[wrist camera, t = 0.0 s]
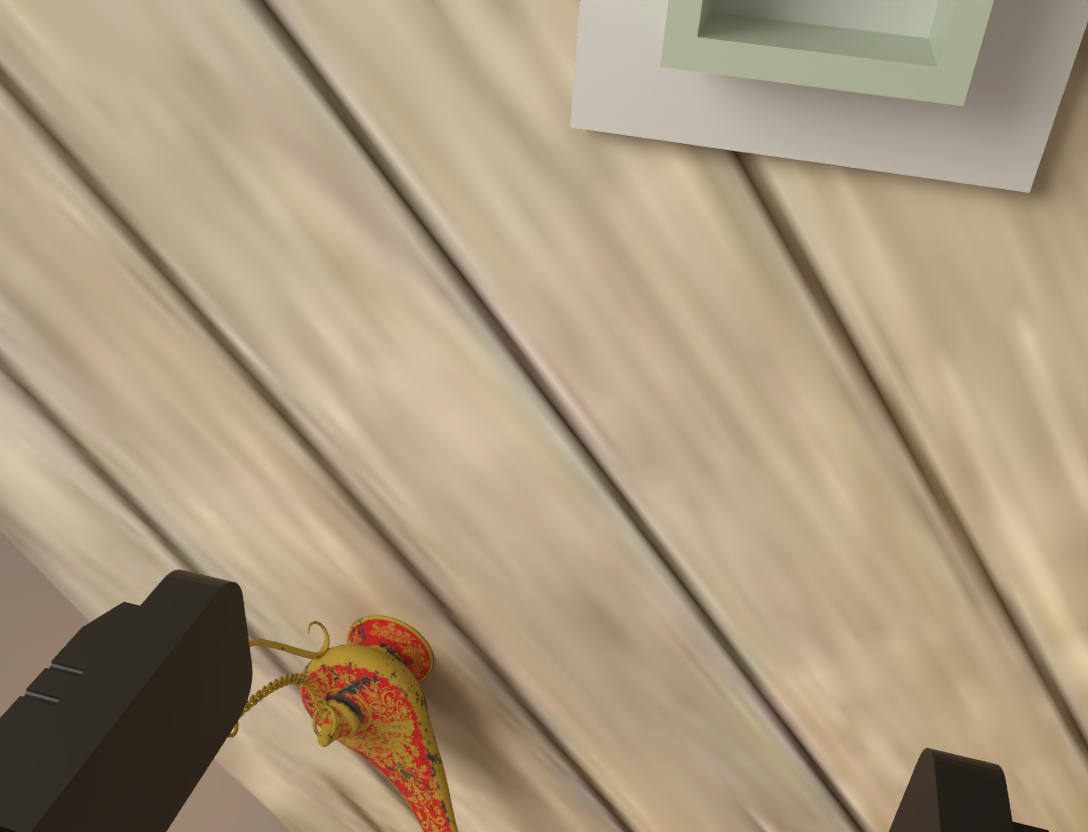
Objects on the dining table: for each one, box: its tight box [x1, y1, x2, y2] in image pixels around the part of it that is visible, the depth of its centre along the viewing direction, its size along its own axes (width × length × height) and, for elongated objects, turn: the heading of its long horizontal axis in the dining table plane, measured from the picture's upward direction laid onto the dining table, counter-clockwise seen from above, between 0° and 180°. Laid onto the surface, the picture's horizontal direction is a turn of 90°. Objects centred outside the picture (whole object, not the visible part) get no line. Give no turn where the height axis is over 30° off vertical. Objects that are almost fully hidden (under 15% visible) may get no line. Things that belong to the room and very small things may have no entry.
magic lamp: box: [228, 616, 458, 832], centre depth 52 cm, size 7×18×11 cm, turn 37°
